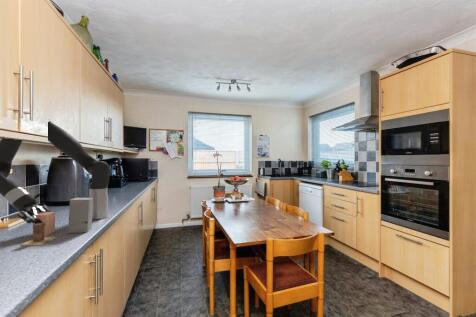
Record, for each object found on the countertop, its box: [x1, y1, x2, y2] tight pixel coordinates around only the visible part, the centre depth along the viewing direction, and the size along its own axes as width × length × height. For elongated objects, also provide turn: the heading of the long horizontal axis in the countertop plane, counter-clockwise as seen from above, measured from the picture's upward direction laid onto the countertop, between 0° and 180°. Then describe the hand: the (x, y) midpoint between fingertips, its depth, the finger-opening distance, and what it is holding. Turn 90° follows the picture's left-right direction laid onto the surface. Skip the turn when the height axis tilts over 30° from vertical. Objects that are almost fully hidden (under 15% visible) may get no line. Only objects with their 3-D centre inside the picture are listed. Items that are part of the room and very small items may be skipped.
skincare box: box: [67, 197, 93, 234], centre depth 112 cm, size 8×7×16 cm
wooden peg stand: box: [20, 223, 56, 247], centre depth 98 cm, size 8×8×8 cm
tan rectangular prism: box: [32, 211, 56, 237], centre depth 107 cm, size 6×6×10 cm
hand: (48, 224), depth 107 cm, fingers closed on tan rectangular prism, 5 cm apart
